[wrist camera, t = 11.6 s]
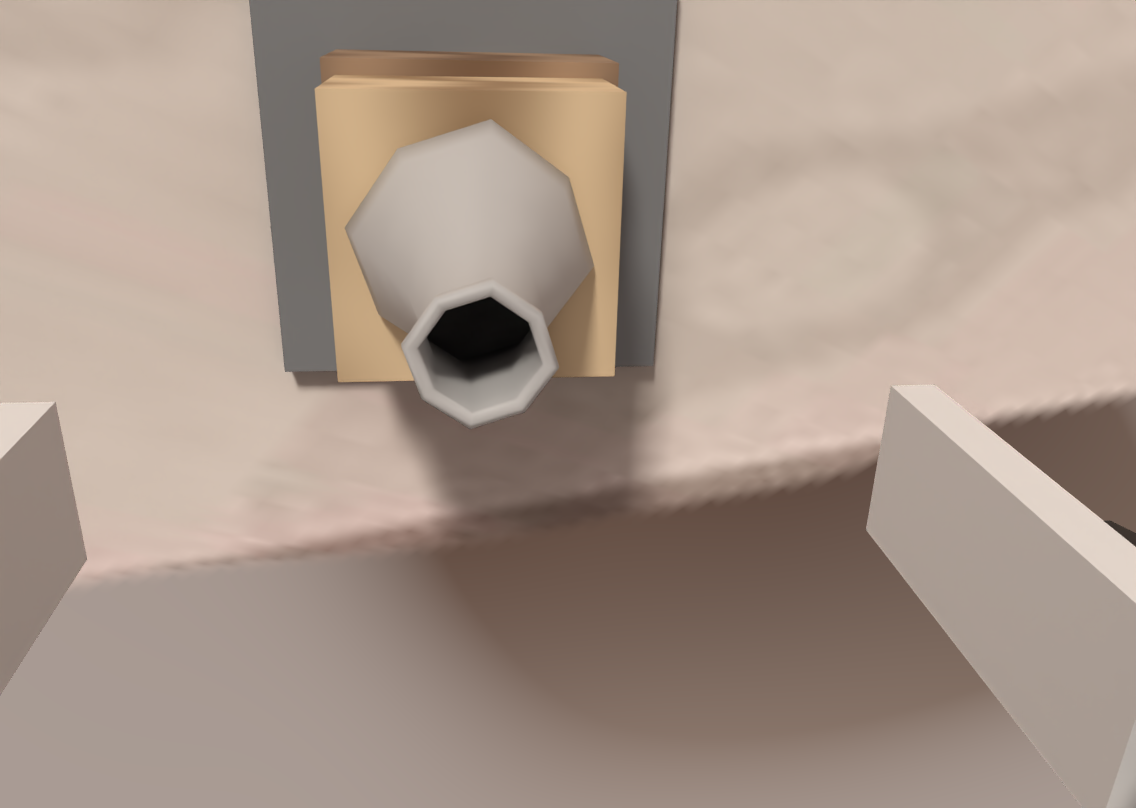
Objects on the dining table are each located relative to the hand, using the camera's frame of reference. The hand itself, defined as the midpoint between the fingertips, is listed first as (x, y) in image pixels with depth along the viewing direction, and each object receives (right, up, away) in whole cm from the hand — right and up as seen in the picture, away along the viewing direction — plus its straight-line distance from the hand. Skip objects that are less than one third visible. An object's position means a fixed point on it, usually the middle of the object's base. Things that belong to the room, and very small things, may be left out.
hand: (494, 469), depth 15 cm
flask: (-2, +6, +14) cm, 16 cm away
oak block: (-2, +8, +19) cm, 20 cm away
